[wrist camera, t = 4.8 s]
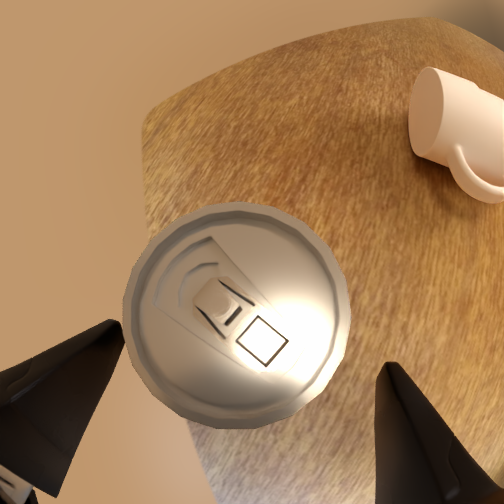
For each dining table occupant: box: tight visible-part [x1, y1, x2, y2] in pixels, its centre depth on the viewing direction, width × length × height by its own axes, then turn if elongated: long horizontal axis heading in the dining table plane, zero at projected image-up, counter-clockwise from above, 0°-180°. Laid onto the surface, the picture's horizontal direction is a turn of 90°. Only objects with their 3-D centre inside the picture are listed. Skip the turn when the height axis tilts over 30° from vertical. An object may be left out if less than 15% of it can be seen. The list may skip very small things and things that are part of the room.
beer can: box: [123, 201, 351, 429], centre depth 11 cm, size 5×5×12 cm
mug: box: [408, 67, 504, 204], centre depth 15 cm, size 12×9×8 cm
